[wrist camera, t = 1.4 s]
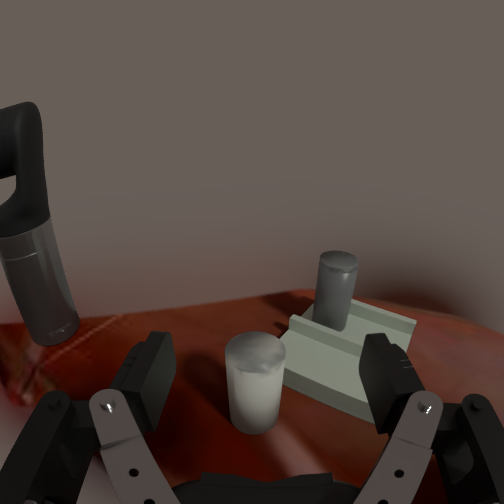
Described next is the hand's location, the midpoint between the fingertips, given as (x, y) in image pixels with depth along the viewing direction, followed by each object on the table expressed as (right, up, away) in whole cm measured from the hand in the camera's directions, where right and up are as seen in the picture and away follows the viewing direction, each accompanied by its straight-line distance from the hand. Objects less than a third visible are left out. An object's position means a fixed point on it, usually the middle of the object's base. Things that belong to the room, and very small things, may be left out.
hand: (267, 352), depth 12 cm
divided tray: (+11, -9, +25) cm, 29 cm away
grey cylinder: (+10, -6, +29) cm, 32 cm away
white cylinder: (0, -13, +17) cm, 21 cm away
